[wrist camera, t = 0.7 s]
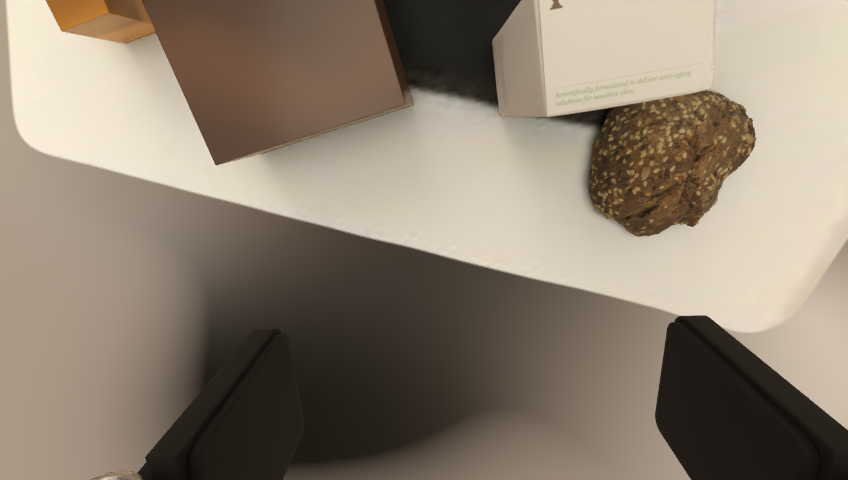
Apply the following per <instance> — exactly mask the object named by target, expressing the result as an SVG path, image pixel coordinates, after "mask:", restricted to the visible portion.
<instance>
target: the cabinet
mask: <svg viewBox="0 0 848 480" xmlns="http://www.w3.org/2000/svg"><path fill="white" fill-rule="evenodd" d="M142 2H143V5H144V7H145V9H146V11H147V13H148V16H149V18H150V20H151V22H152V25H153V27H154V29H155V31H156V34H157V36H158V38H159V40H160V42H161V45H162V47H163V49H164V51H165V54H166V56H167V58H168V60H169V62H170V65H171V67H172V69H173V71H174V74H175V76H176V78H177V80H178V82H179V85H180V87H181V89H182V91H183V94H184V96H185V98H186V100H187V102H188V105H189V107H190V109H191V111H192V114H193V116H194V118H195V120H196V122H197V125H198V127H199V129H200V131H201V134H202V136H203V138H204V140H205V142H206V145H207V147H208V149H209V151H210V154H211V156H212V158H213V160H214V162H215V165H219V164H223V163H227V162H231V161H235V160H239V159H243V158H247V157H251V156H254V155H258V154H262V153H265V152H268V151H271V150H274V149H278V148H281V147H284V146H287V145H290V144H293V143H296V142H299V141H303V140H306V139H309V138H312V137H315V136H318V135H321V134H324V133H328V132H331V131H334V130H337V129H340V128H343V127H346V126H349V125H353V124H356V123H359V122H362V121H365V120H368V119H371V118H374V117H378V116H381V115H384V114H387V113H390V112H393V111H396V110H399V109H403V108H406V107H409V106H412V105H414V103H413V100H412V96H411V93H410V89H409V86H408V83H407V79H406V76H405V72H404V69H403V65H402V62H401V59H400V55H399V52H398V48H397V45H396V42H395V38H394V35H393V31H392V28H391V25H390V21H389V18H388V14H387V11H386V7H385V4H384V1H383V0H142Z"/></svg>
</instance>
